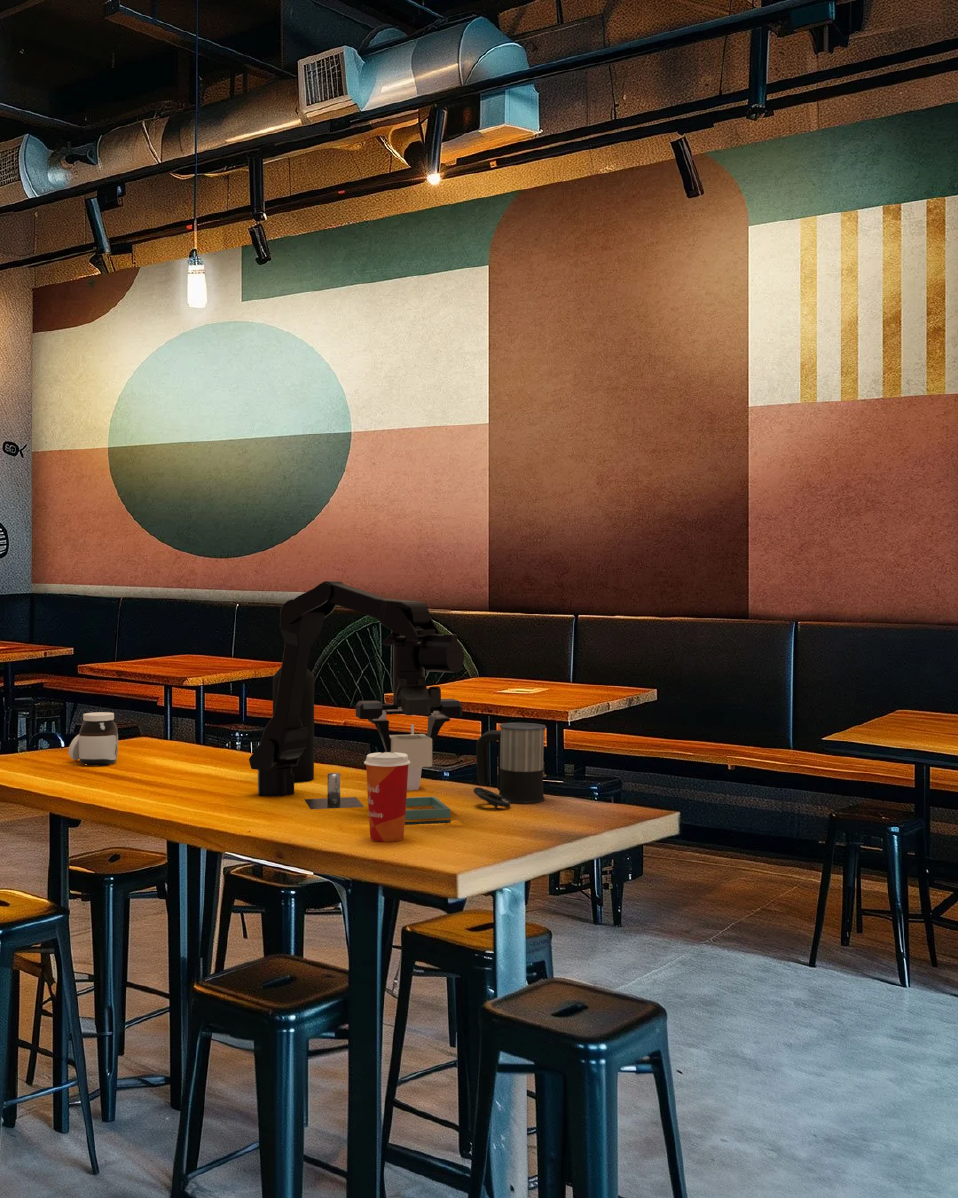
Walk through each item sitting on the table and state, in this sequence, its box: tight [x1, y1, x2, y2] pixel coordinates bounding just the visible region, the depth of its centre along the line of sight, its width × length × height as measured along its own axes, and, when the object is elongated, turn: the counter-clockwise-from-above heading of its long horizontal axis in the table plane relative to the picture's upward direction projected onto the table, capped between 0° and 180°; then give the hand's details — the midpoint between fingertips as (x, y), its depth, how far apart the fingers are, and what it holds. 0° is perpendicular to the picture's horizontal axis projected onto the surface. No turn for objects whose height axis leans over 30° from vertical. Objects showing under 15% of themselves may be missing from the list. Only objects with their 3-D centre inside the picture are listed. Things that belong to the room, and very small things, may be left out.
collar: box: [389, 733, 433, 768], centre depth 217 cm, size 7×7×5 cm
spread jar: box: [68, 711, 119, 766], centre depth 278 cm, size 12×11×12 cm
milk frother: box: [473, 722, 547, 809], centre depth 232 cm, size 14×16×15 cm
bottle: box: [272, 667, 315, 784], centre depth 257 cm, size 9×9×28 cm
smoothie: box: [407, 723, 423, 791], centre depth 241 cm, size 6×6×14 cm
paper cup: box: [363, 751, 410, 843], centre depth 199 cm, size 8×8×14 cm
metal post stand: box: [304, 772, 365, 810], centre depth 225 cm, size 10×10×6 cm
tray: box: [405, 796, 451, 826], centre depth 217 cm, size 12×12×2 cm
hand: (409, 756), depth 217 cm, fingers closed on collar, 7 cm apart
